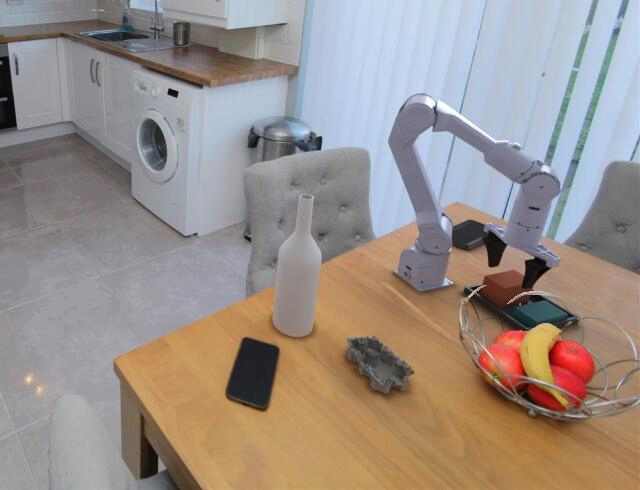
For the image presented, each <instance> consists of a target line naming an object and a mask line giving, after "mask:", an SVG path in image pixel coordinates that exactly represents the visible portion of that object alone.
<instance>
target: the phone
mask: <svg viewBox="0 0 640 490" xmlns="http://www.w3.org/2000/svg"><path fill="white" fill-rule="evenodd" d="M484 228H485V223H482V222H480V221H477V220H474V219H467V220H465V221H462V222H460V223H457V224H456V225H453V230H452V245H454V246H456V247H458V248H461V249H462V250H465V251H467V250H471V249H473V248H475V247H478V246H480V245H481V244H484V242H483V240H482V239H483V236H486V235H487V234H488V233H487V232H485V231H484Z"/></svg>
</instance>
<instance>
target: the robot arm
mask: <svg viewBox="0 0 640 490" xmlns="http://www.w3.org/2000/svg"><path fill="white" fill-rule="evenodd" d="M431 127H432V130H431V133H442V132H447V133H450V134H452V135H453V136H455V137H456V138H458V139H460V140H461V141H463V142H465V143H466V144H468V145H469V146H471V147H472V148H474V149H476V150H477V151H478V152H480V153H482V154H483V161H484V163H485V164H487V165H488V166H490V167H491V168H493V169H494V170H496V171H497V172H498V173H500V174H501V175H503V176H504V177H505V178H507V179H509V180H510V181H511V182H513V183H516V184H517V185H520V186H519V188H518V192H517V195H516V196H515V198H514V201H513V204H512V207H511V211H510V214H509V218H508V221H507V224H506V227H505V226H502V225H499V224H498V223H495V222H493V221H492V222H491V221H490V222H487V223H484V225H485V228H484V231H485V232H487V233H488V234H487V235H486V236H483V239H482V240H483V242H484V243H483V244H484V246H485V250H486V254H487V266H488V268H490V269H492V268H497V267H499V266H500V264H501V261H502V258H503V255H504V252H505V250H506V248H507V247H508V246H509V247H512V248H513V249H517V250H519V251H522V252H524V253H526V254H528V255H530V256H531V257H533V258H530V259H529V258H528V259H525V260H524V267H525V268H524V274H523V275H524V278H523V282H522V288H524V289H528V288H532V287H533V288H534V286H535V284H536V283H537V282H538V281H539V279H541V277H543V275H545V274H546V273H547V272H548V271H550V270H552V269H553V268H558V267H559V266H560V263H561V260H562V258H561V257H560V256H558V255H556V254H555V253H553V252H552V251H551V250H549V248H547V247H546V246H544V245H543V244H542V243H541V242H540V241H541V239H542V236H543V233H544V230H545V227H546V224H547V220H548V218H549V216H550V215H549V214H550V212H551V209H552V202H553V201H554V199H556V197H558V196H559V195H560V194H561V193H562V189H561V181H560V178H559V176H558V174H557V172H556V170H555V169H554V167H552V166H551V165H550V164H549V163H548V162H546V161H545V162H544V161H543V160H542V159H540V158H538V159H535V158H534V157H532V156H531V155H530V154H528V153H527V152H525V151H524V150H523V148H522V145H521V144H520V143H518V142H513V143H512V142H510V141H509V140H495V139H494V138H492V137H491V136H490V135H488V134H487V133H486V132H484V131H483V130H482V129H480V128H479V127H477V126H476V125H475V124H474V123H472V122H471V121H469V120H468V119H467V118H465V117H464V116H463V115H461V114H460V113H458V112H457V111H456V110H454V109H453V108H451V107H450V106H449V105H447V104H446V103H445V102H443V101H442V100H439V99H438V100H436V98H434V96H432V95H430V94H428V93H424V92H418V93H414V94H412V95H410V96H409V97H407V99H406V100H405V101H404V103H403V104H402V105H401V106H400V108H399V109H398V112H397V115H396V117H395V119H394V122H393V124H392V127H391V131H390V133H389V136H388V139H387V144H388V147H389V148H390V152H391V154H392V157H393V159H394V162H395V164H396V167H397V169H398V172H399V174H400V176H401V179H402V182H403V185H404V187H405V190H406V192H407V195H408V198H409V200H410V203H411V205H412V207H413V211H414V213H415V220H416V226H417V229H418V233H419V234H418V236H417V237H416V238H415V240H414V243H412V245H410V246H409V247H407V248H403V250H401V253H400V256H399V262H398V266H397V269H395V270H394V271H393V272H394V274H395V275H396V276H398V277H400V278H401V279H403V280H404V281H405V282H407V283H408V284H409V285H410V286H412V287H413V288H414V289H416V291H418V292H424V291H428V290H434V289H438V288H442V287H443V288H444V287H447V286H452V285H454V282H453V281H451V280H450V279H449V278H447V277H446V275H447V270H448V266H449V262H450V258H451V255H452V251H453V244H452V230H453V226H454V222H453V220H452V218H451V217H450V216H449V215H447V214H446V212H445V211H444V209H443V207H442V205H441V204H440V203H439V201H438V199H437V196H436V194H435V192H434V189H433V186H432V184H431V181H430V179H429V176H428V174H427V170H426V168H425V165H424V163H423V160H422V158H421V155H420V152H419V149H418V147H417V144H416V140H417V139H418V138H419V137H420V135H421V134H423V133H424V132H426V131H428V130H429V129H430V128H431Z"/></svg>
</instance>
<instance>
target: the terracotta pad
mask: <svg viewBox="0 0 640 490" xmlns="http://www.w3.org/2000/svg"><path fill="white" fill-rule="evenodd" d="M524 275H525V274H523V273H521V272H519V271H517V270H515V269H510V270H505V271H500V272H496V273H491V274H486V275H484V277H483V281H482V283H483V284H482V285H487V286H485V287H483V288H481V291H480V295H481V296H483V297H484V298H486V299H487V300H488V301H490V302H491V303H493V304H494V305H496V306H497V307H499V308H500V307H504V306H508V305H513V304H517V303H521V302H526V301H529V298H530V295H524V296H521V297H519V298H518V299H516V300H514V301H513V302H511V303H509V304H507V303H508V302H509V301H510V300H511V299H513V298H514V297H515V296H517V295H519V294H521V293H523V292H529V291H532V289H534V286H533V287H532V288H528V289H524V288H522V282H523V278H524Z"/></svg>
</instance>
